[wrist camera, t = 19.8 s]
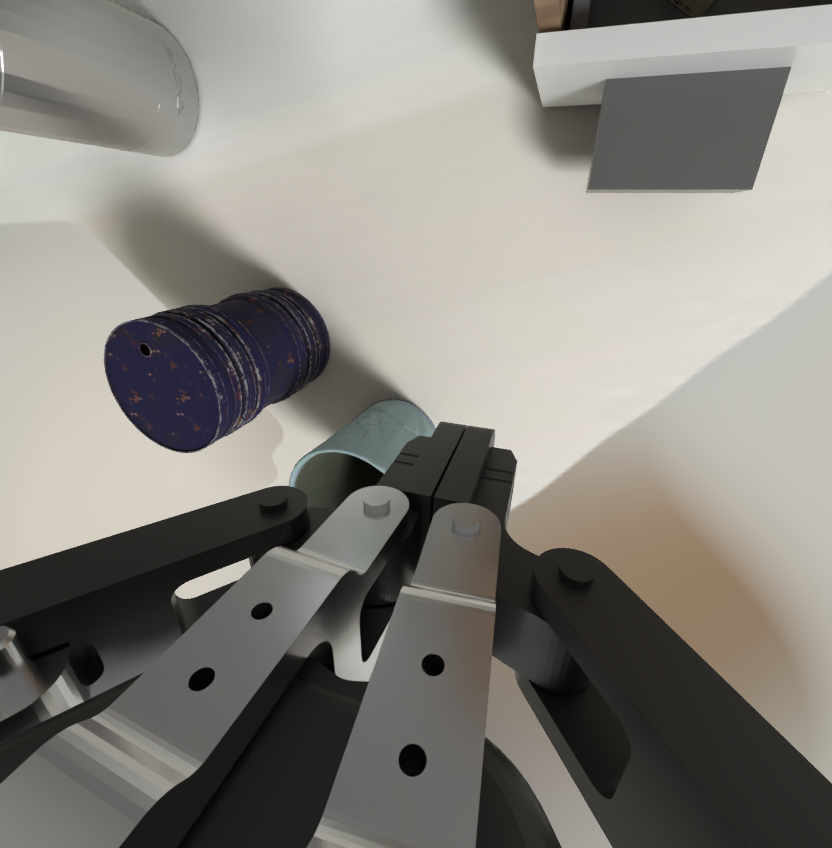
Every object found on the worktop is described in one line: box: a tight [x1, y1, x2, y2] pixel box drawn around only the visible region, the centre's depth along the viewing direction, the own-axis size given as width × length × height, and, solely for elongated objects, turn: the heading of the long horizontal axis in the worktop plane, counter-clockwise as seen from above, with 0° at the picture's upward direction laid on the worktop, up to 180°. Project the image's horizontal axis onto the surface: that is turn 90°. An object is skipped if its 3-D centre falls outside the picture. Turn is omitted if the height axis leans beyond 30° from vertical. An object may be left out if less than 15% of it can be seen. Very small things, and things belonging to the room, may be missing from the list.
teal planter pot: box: [289, 399, 436, 508], centre depth 37 cm, size 10×10×12 cm
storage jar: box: [104, 288, 330, 453], centre depth 35 cm, size 10×10×15 cm
